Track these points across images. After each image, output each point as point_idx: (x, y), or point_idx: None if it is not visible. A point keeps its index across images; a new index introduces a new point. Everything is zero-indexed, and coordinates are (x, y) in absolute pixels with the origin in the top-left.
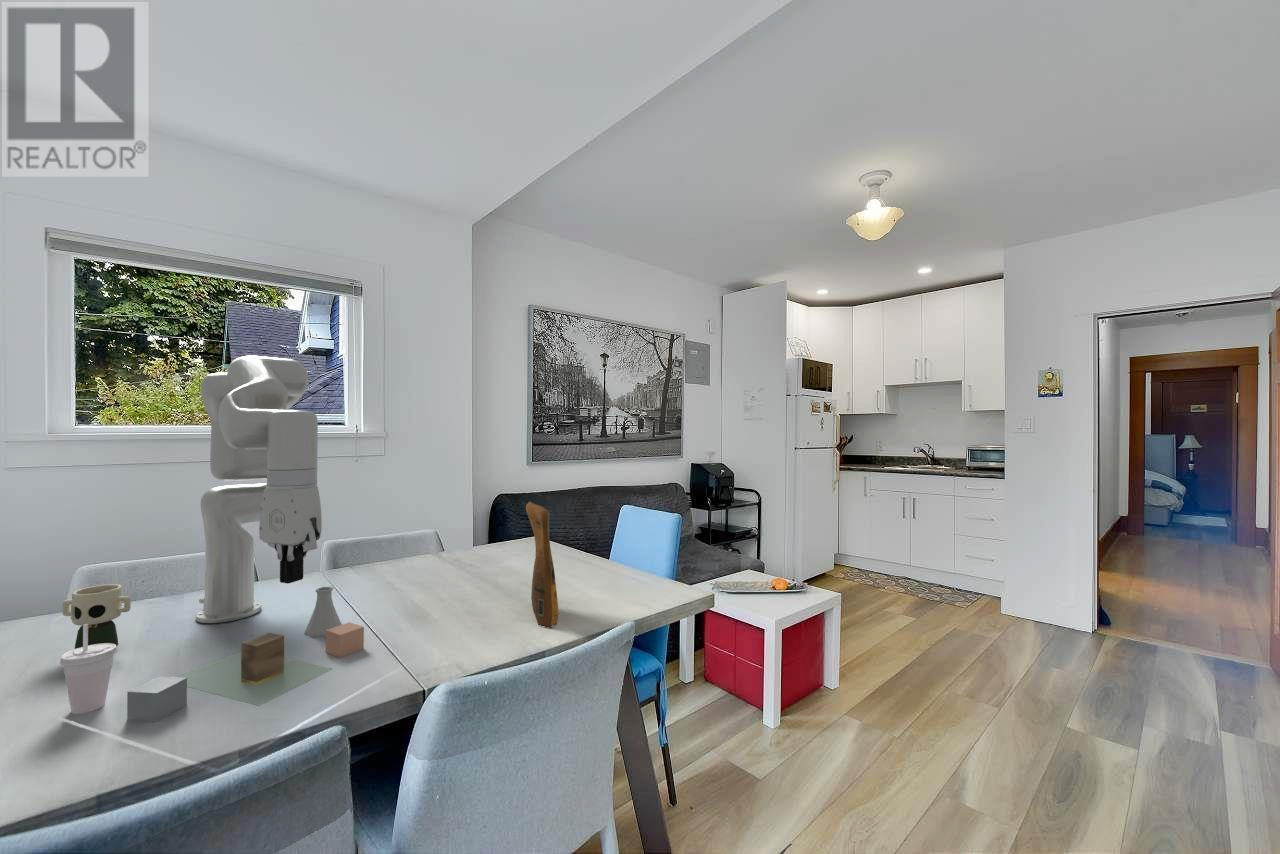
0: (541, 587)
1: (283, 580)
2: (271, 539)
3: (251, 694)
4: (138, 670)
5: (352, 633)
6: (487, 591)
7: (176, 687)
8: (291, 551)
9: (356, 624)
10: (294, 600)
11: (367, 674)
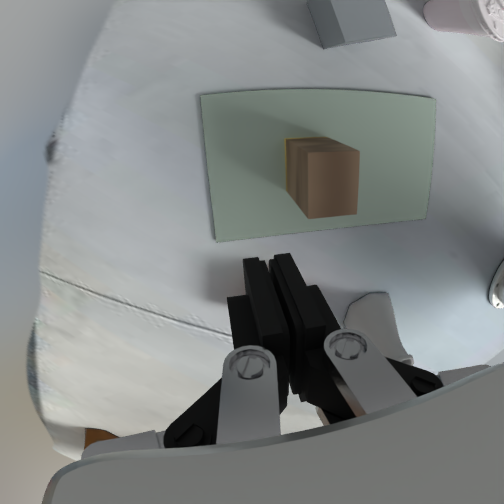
0: None
1: (270, 262)
2: (440, 423)
3: (256, 112)
4: (489, 119)
5: None
6: None
7: (334, 23)
8: (233, 408)
9: None
10: (472, 337)
11: (148, 260)
